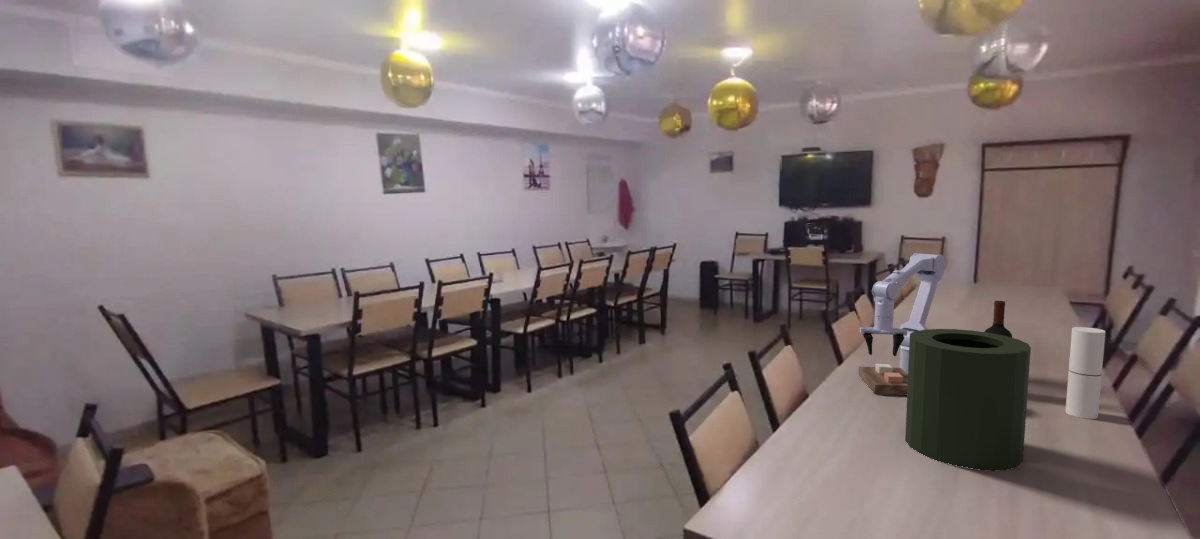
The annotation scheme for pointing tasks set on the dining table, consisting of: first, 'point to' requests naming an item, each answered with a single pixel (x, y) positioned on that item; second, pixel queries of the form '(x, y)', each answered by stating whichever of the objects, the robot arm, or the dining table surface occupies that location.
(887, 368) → the off white key
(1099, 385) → the cylindrical container
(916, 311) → the robot arm
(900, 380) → the salmon orange square block
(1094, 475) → the dining table surface
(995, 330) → the wine bottle
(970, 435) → the flower pot
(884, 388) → the key panel
